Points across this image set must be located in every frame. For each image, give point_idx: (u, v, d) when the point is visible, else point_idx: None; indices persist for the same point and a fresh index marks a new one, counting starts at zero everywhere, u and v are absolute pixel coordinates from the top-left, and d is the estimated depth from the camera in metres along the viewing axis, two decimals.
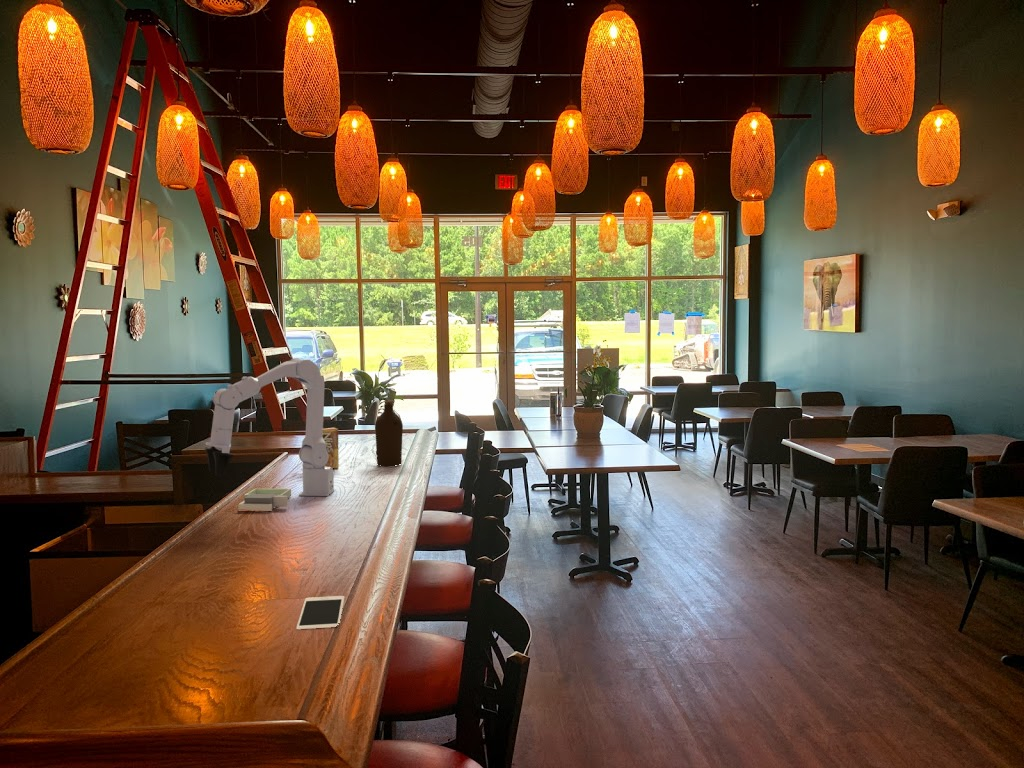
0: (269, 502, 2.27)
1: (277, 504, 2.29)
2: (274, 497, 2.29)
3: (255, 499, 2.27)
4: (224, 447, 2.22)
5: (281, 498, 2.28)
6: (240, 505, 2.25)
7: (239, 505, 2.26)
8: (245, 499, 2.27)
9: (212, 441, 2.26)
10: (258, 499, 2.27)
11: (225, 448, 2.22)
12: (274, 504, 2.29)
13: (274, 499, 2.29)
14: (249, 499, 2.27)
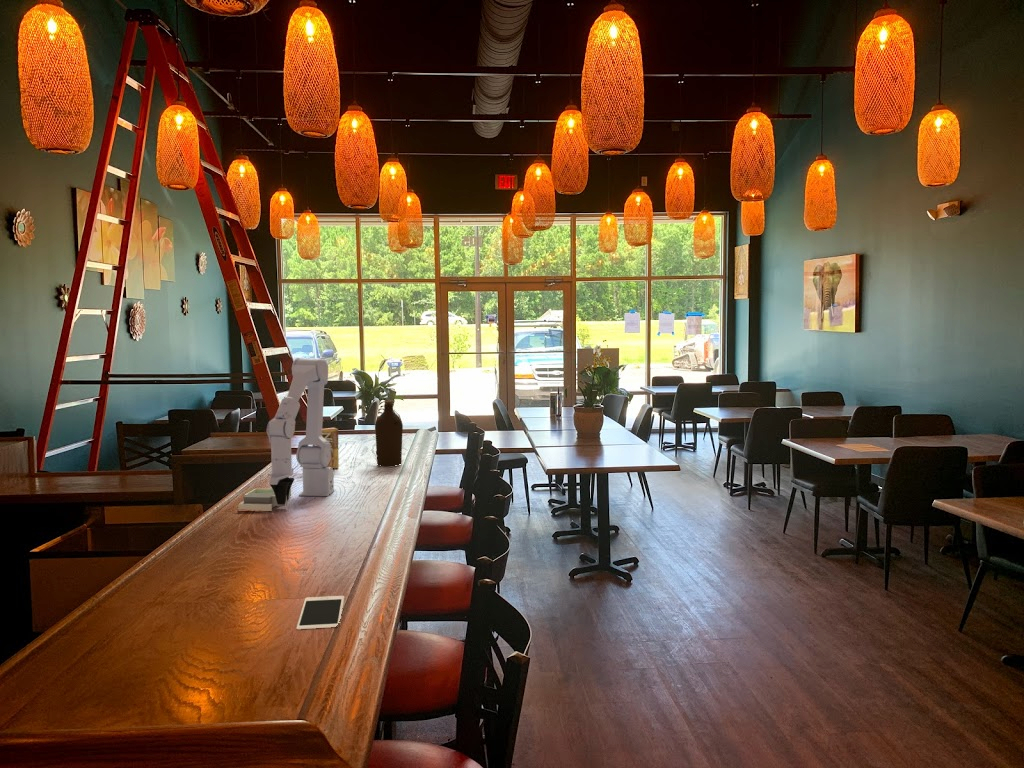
0: (268, 501, 2.27)
1: (276, 504, 2.29)
2: (273, 497, 2.29)
3: (254, 498, 2.27)
4: (271, 479, 2.21)
5: None
6: (240, 505, 2.25)
7: (239, 505, 2.26)
8: (244, 498, 2.27)
9: None
10: (257, 498, 2.27)
11: (272, 480, 2.21)
12: (273, 504, 2.29)
13: (273, 499, 2.29)
14: (248, 498, 2.27)
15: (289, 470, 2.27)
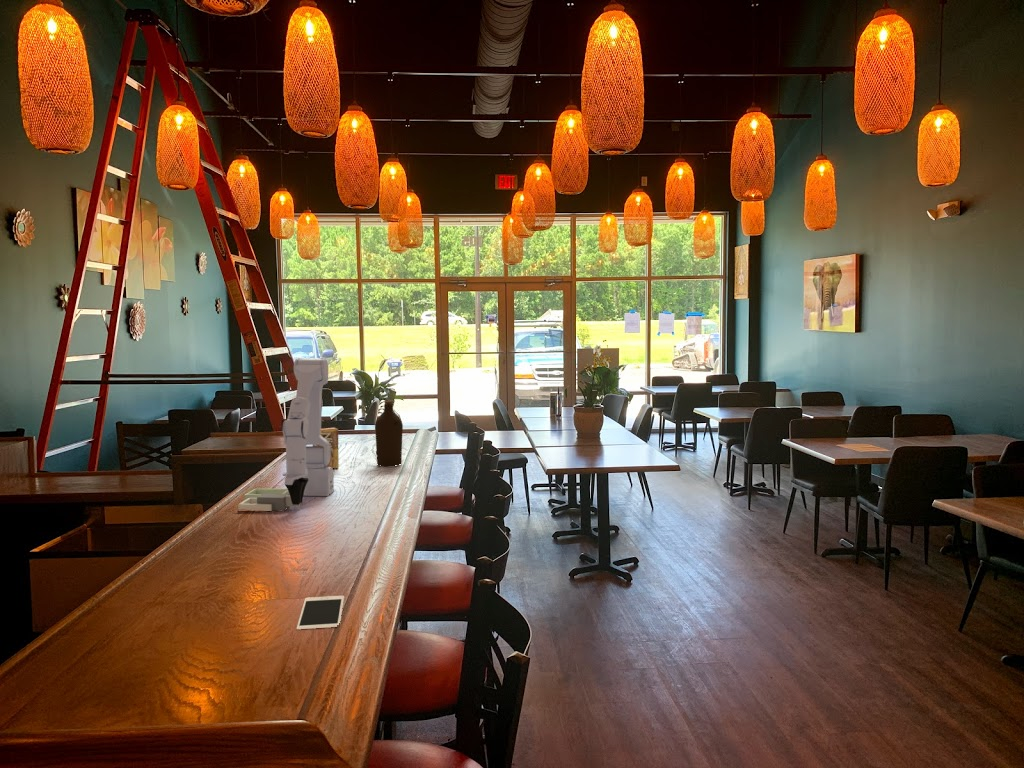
0: (282, 502, 2.26)
1: (290, 504, 2.28)
2: (286, 497, 2.28)
3: (268, 499, 2.27)
4: (286, 479, 2.21)
5: None
6: (240, 505, 2.25)
7: (239, 505, 2.26)
8: (258, 499, 2.27)
9: (286, 472, 2.27)
10: (271, 499, 2.27)
11: (287, 480, 2.21)
12: (286, 504, 2.28)
13: (286, 499, 2.28)
14: (262, 499, 2.27)
15: (304, 470, 2.27)
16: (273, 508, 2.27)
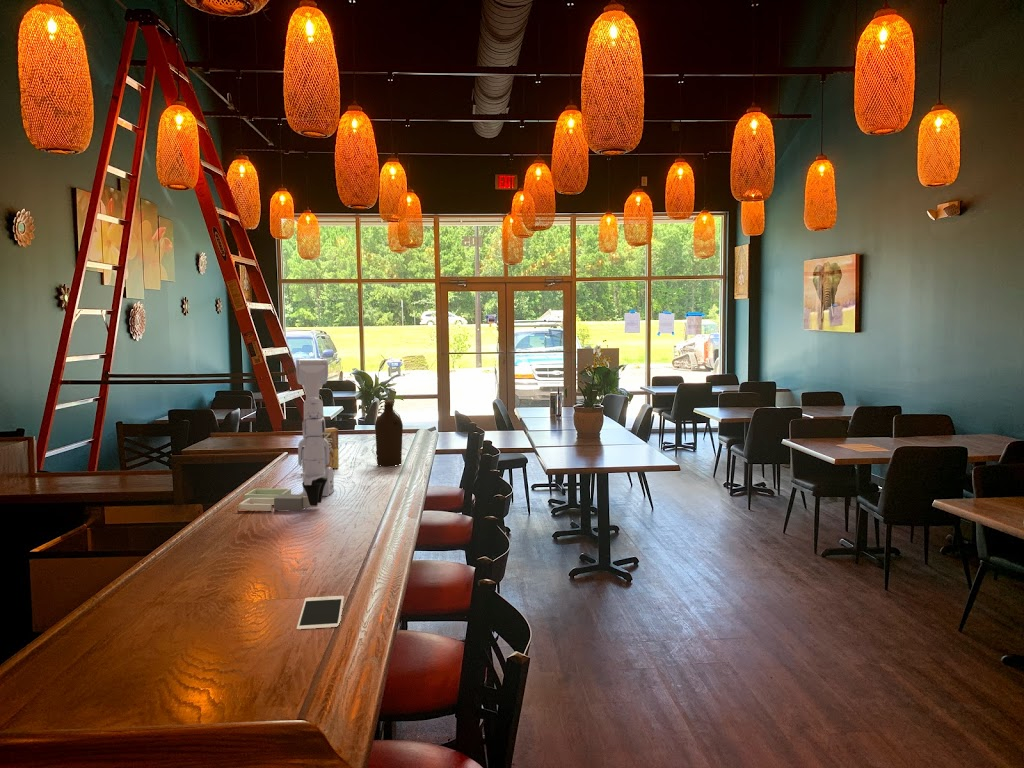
0: (299, 503, 2.26)
1: (307, 505, 2.28)
2: (304, 497, 2.28)
3: (285, 499, 2.26)
4: (305, 479, 2.21)
5: None
6: (240, 505, 2.25)
7: (239, 505, 2.26)
8: (275, 499, 2.26)
9: (305, 472, 2.27)
10: (288, 499, 2.26)
11: (306, 480, 2.21)
12: (304, 504, 2.28)
13: (304, 499, 2.28)
14: (279, 499, 2.26)
15: (322, 470, 2.27)
16: (290, 509, 2.27)
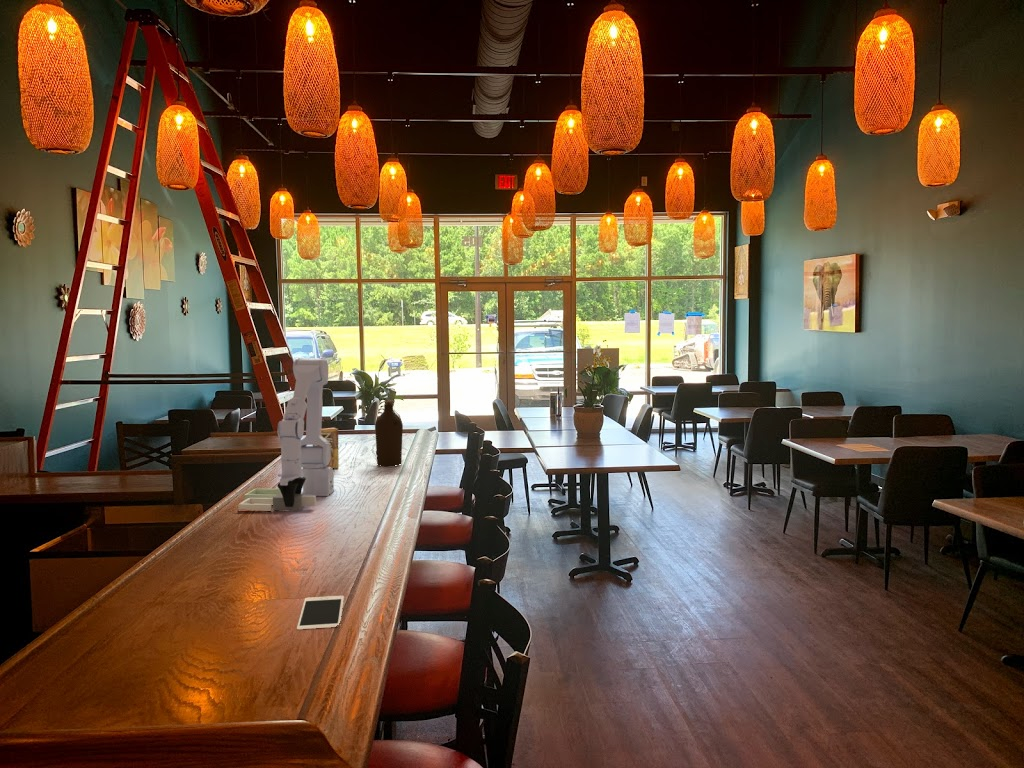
0: (297, 502, 2.26)
1: (305, 504, 2.28)
2: (302, 497, 2.28)
3: (283, 499, 2.26)
4: (281, 479, 2.21)
5: (309, 498, 2.28)
6: (240, 505, 2.25)
7: (239, 505, 2.26)
8: (273, 499, 2.27)
9: None
10: None
11: (282, 480, 2.21)
12: (302, 504, 2.28)
13: (302, 499, 2.28)
14: (277, 499, 2.26)
15: (299, 471, 2.27)
16: (289, 508, 2.27)
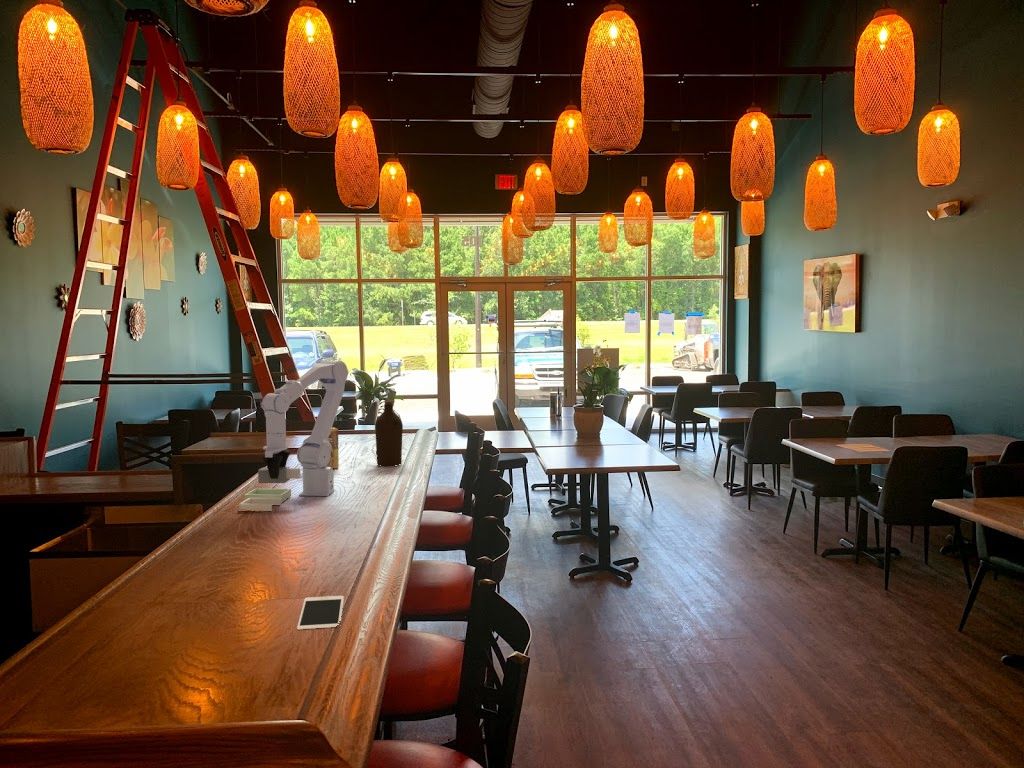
0: (282, 474, 2.32)
1: (290, 476, 2.34)
2: (287, 469, 2.34)
3: (268, 471, 2.33)
4: (266, 451, 2.27)
5: (293, 470, 2.34)
6: (240, 505, 2.25)
7: (239, 505, 2.26)
8: (259, 471, 2.33)
9: None
10: None
11: (267, 452, 2.27)
12: (287, 476, 2.34)
13: (287, 471, 2.34)
14: (263, 471, 2.33)
15: (284, 444, 2.33)
16: (274, 480, 2.33)
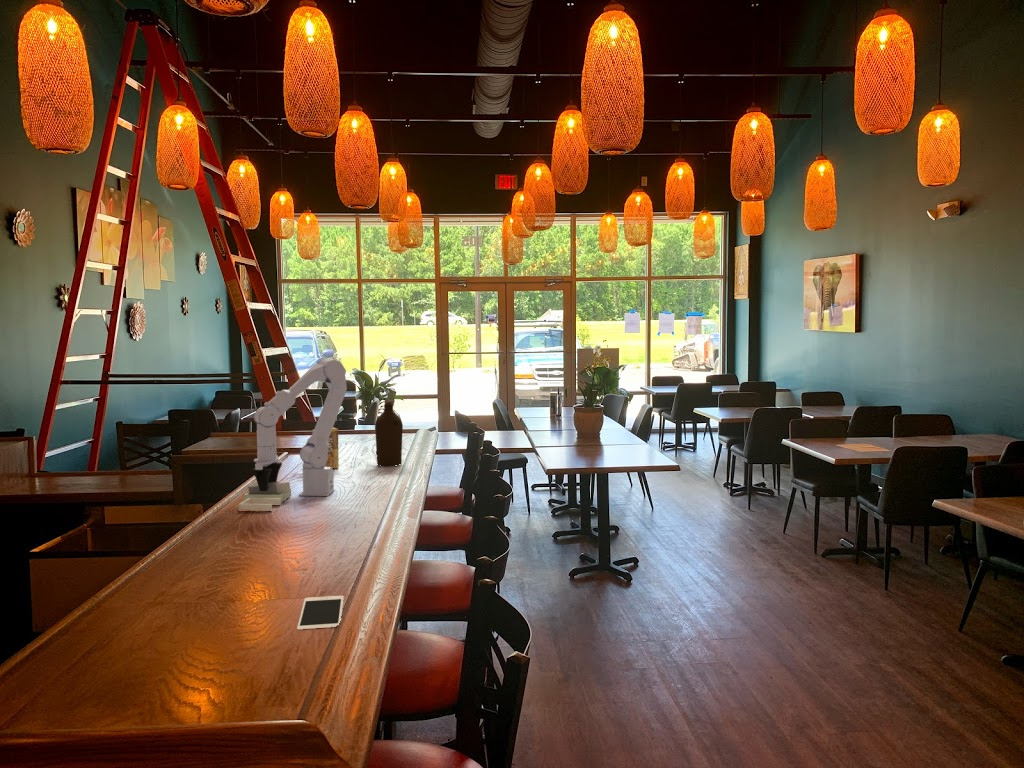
0: (272, 489, 2.38)
1: (280, 490, 2.40)
2: (276, 484, 2.39)
3: (258, 487, 2.38)
4: (256, 464, 2.32)
5: (283, 484, 2.39)
6: (240, 505, 2.25)
7: (239, 505, 2.26)
8: (249, 488, 2.38)
9: None
10: None
11: (257, 465, 2.32)
12: (277, 491, 2.40)
13: (277, 486, 2.39)
14: (253, 488, 2.38)
15: (274, 456, 2.38)
16: None
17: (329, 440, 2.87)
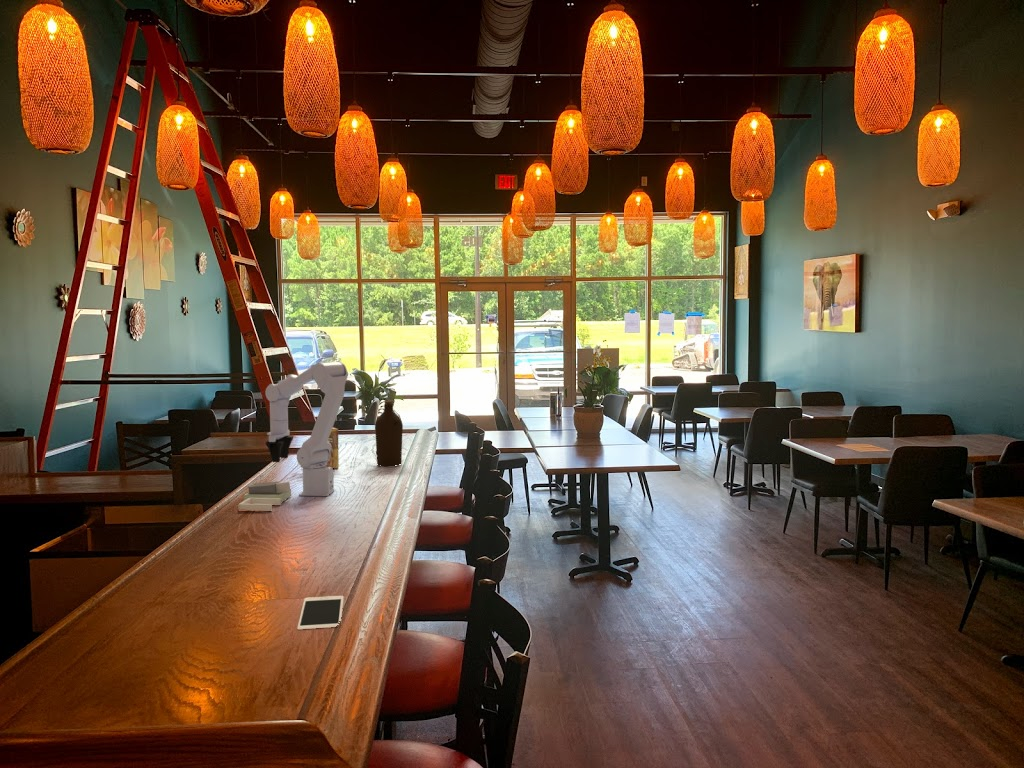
0: (272, 489, 2.38)
1: (280, 490, 2.40)
2: (276, 484, 2.39)
3: (258, 487, 2.38)
4: (269, 437, 2.49)
5: (283, 484, 2.39)
6: (240, 505, 2.25)
7: (239, 505, 2.26)
8: (249, 488, 2.38)
9: (270, 431, 2.55)
10: (261, 487, 2.38)
11: (270, 437, 2.49)
12: (277, 491, 2.40)
13: (277, 486, 2.39)
14: (253, 488, 2.38)
15: (286, 430, 2.55)
16: None
17: (329, 440, 2.87)
